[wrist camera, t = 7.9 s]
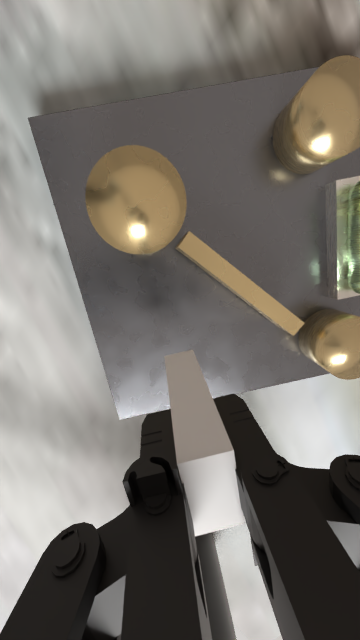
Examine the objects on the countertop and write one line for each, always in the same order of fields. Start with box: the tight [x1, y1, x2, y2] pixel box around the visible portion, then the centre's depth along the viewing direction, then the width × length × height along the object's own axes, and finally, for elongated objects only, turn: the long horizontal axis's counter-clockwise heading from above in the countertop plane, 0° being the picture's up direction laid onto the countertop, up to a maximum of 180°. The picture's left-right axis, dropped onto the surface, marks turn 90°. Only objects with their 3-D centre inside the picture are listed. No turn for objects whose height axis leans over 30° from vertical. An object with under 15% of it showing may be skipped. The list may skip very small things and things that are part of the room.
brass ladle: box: [85, 145, 304, 336], centre depth 18 cm, size 17×6×4 cm, turn 54°
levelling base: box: [28, 55, 360, 419], centre depth 19 cm, size 24×24×6 cm
